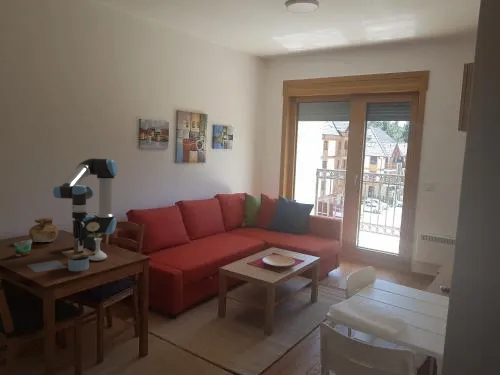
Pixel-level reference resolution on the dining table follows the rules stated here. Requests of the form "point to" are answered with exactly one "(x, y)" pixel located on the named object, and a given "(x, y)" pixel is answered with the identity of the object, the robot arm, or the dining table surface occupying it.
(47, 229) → the clay pot
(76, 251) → the walnut lid
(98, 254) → the flower in vase
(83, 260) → the ceramic bowl
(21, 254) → the food container
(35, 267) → the rubber mat
